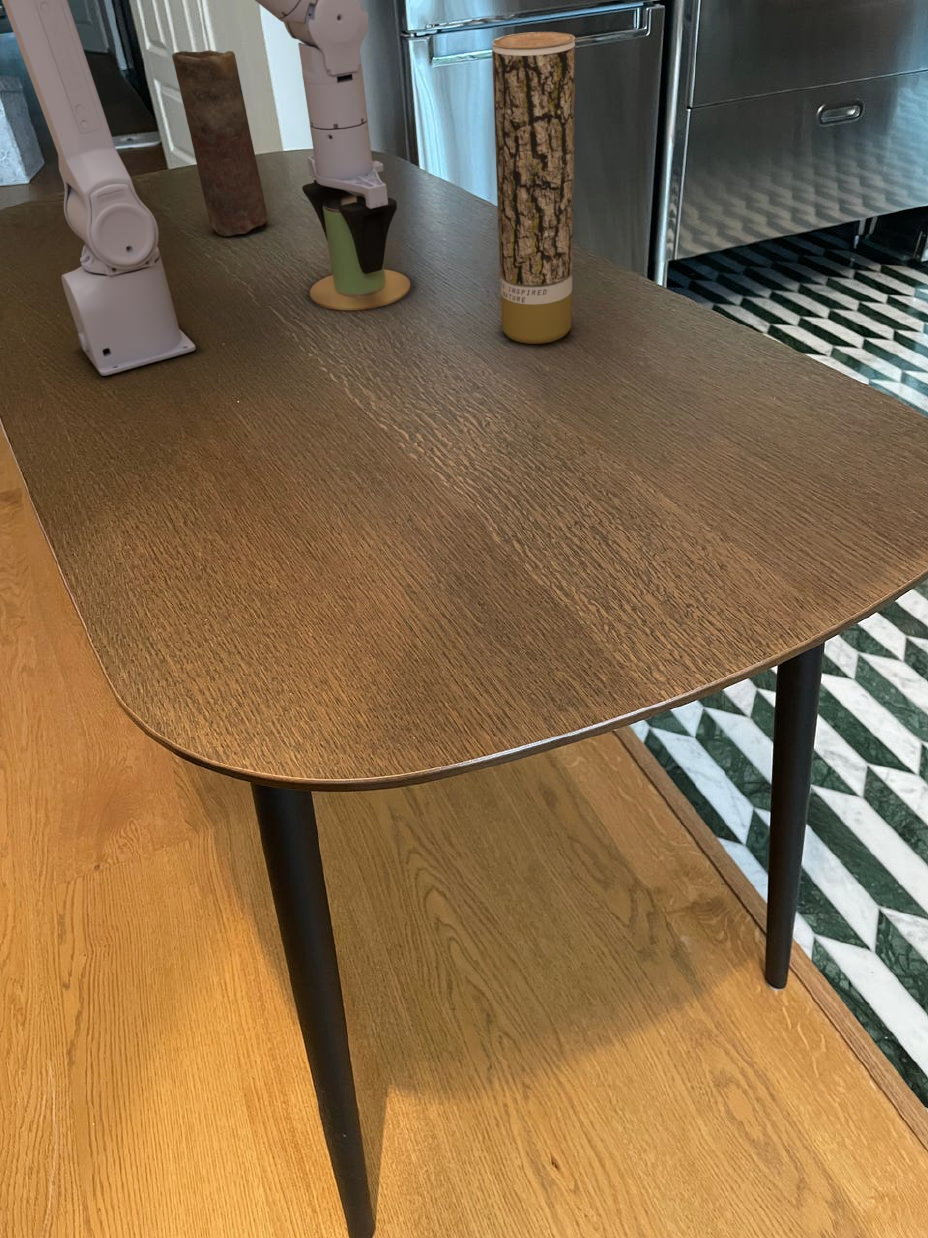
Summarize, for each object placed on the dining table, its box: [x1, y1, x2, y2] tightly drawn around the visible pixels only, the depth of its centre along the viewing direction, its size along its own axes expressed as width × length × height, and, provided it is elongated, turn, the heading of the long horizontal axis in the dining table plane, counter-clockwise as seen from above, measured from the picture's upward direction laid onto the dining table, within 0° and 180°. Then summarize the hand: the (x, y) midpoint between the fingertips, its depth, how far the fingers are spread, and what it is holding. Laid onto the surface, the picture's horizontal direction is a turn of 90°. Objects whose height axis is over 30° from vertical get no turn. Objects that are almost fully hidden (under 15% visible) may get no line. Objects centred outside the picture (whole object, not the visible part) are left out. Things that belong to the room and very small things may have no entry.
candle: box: [171, 49, 268, 237], centre depth 118 cm, size 8×7×20 cm
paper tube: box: [491, 31, 576, 345], centre depth 87 cm, size 7×7×25 cm
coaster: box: [309, 268, 411, 311], centre depth 106 cm, size 11×11×1 cm
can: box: [323, 194, 386, 297], centre depth 103 cm, size 6×6×9 cm
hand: (356, 260), depth 104 cm, fingers open, 7 cm apart
